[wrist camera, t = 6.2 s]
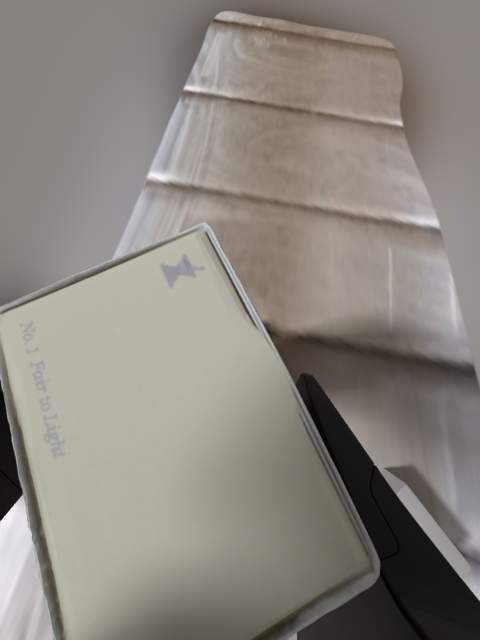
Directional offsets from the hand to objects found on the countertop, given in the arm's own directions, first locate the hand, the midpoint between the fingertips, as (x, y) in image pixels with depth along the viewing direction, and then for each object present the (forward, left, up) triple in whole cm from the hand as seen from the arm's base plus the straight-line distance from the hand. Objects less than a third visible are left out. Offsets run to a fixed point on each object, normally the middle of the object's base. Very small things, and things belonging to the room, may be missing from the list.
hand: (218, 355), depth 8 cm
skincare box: (0, -1, -7) cm, 7 cm away
